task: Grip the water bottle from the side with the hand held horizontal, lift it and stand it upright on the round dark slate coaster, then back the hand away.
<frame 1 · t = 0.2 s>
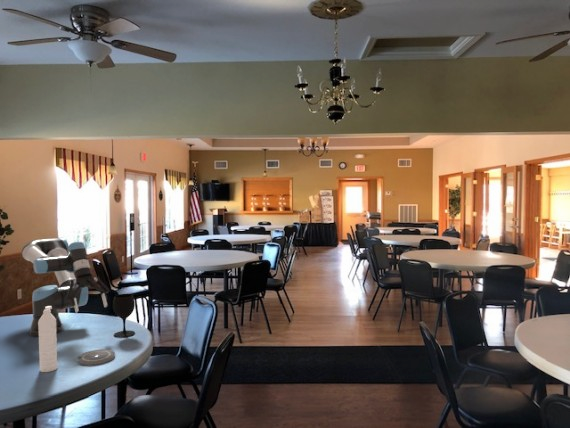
hand: (91, 308, 213), 15 cm above the table, tool tilted 35°, fingers open, 13 cm apart
wine glass: (124, 334, 221), on the table
slate coaster: (96, 358, 190), on the table
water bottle: (49, 368, 180), on the table
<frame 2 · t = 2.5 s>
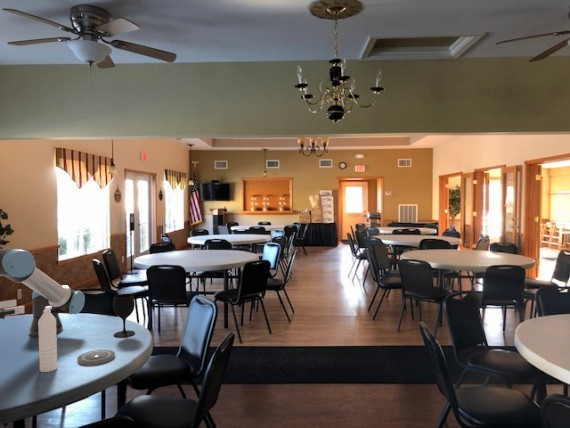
hand: (20, 305, 171), 28 cm above the table, tool horizontal, fingers open, 13 cm apart
nothing on the table moved.
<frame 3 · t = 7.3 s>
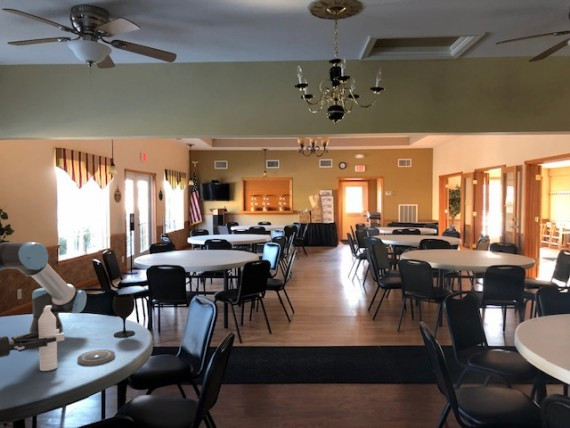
hand: (61, 334, 182), 13 cm above the table, tool horizontal, fingers closed on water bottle, 6 cm apart
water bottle: (49, 368, 180), on the table, touching gripper
everything else where it was.
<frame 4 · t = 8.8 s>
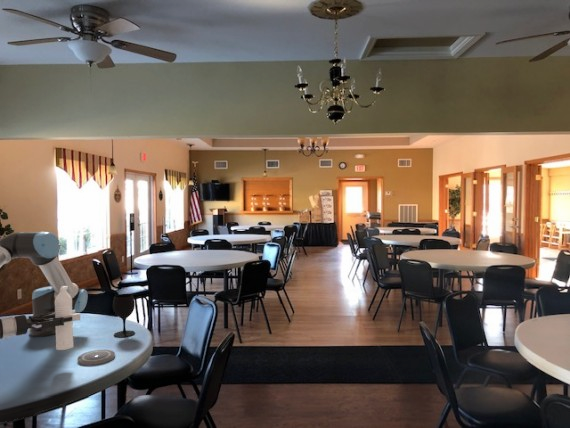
hand: (77, 314, 184), 21 cm above the table, tool horizontal, fingers closed on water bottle, 6 cm apart
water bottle: (65, 347, 182), point 8 cm above the table, touching gripper
everything else where it was.
when the fingers open (15 cm above the table, at t = 10.8 s): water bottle drops 1 cm, resting on slate coaster.
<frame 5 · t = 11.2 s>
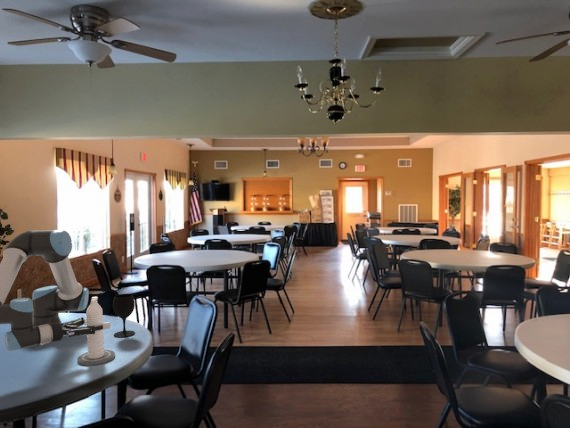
hand: (104, 321, 191), 15 cm above the table, tool horizontal, fingers open, 11 cm apart
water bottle: (96, 355, 190), point 1 cm above the table, touching slate coaster
everything else where it was.
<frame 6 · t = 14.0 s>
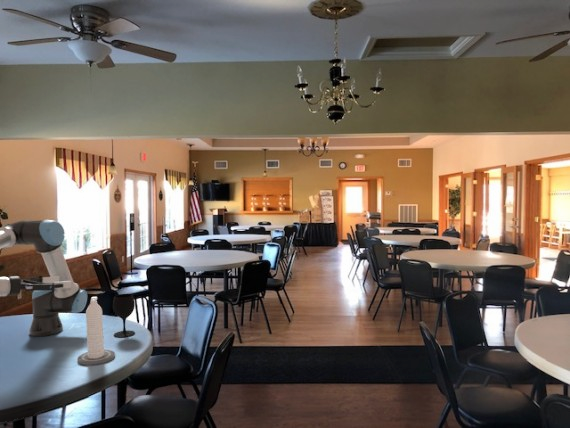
hand: (64, 281, 186), 34 cm above the table, tool horizontal, fingers open, 13 cm apart
nothing on the table moved.
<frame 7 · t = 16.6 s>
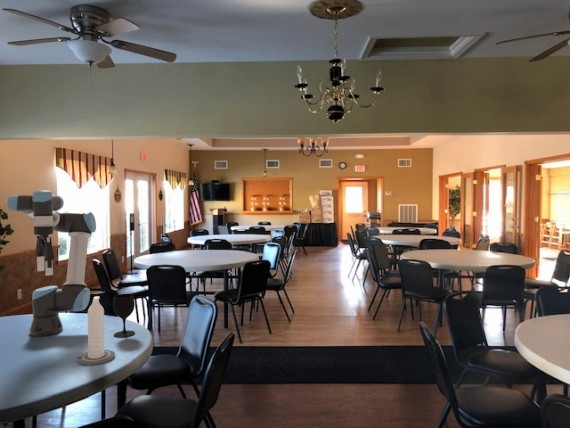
hand: (45, 273, 193), 37 cm above the table, tool pointing down, fingers open, 13 cm apart
nothing on the table moved.
at the end: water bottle 0.2 cm from the slate coaster (horizontally); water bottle tilted 1°; the gripper is holding nothing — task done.
